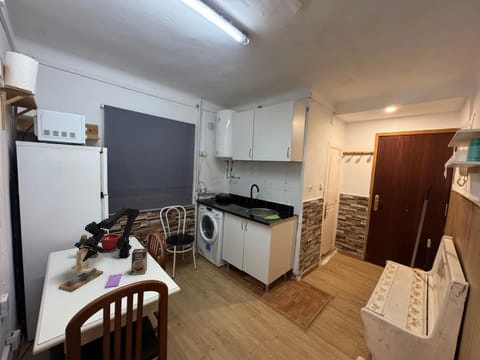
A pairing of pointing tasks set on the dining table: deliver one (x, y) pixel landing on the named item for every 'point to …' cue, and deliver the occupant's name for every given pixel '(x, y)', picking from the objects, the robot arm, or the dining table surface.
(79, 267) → the oak T piece
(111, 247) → the plant pot
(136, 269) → the coffee box
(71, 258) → the dining table surface
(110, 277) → the sponges
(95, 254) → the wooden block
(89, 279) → the stand
